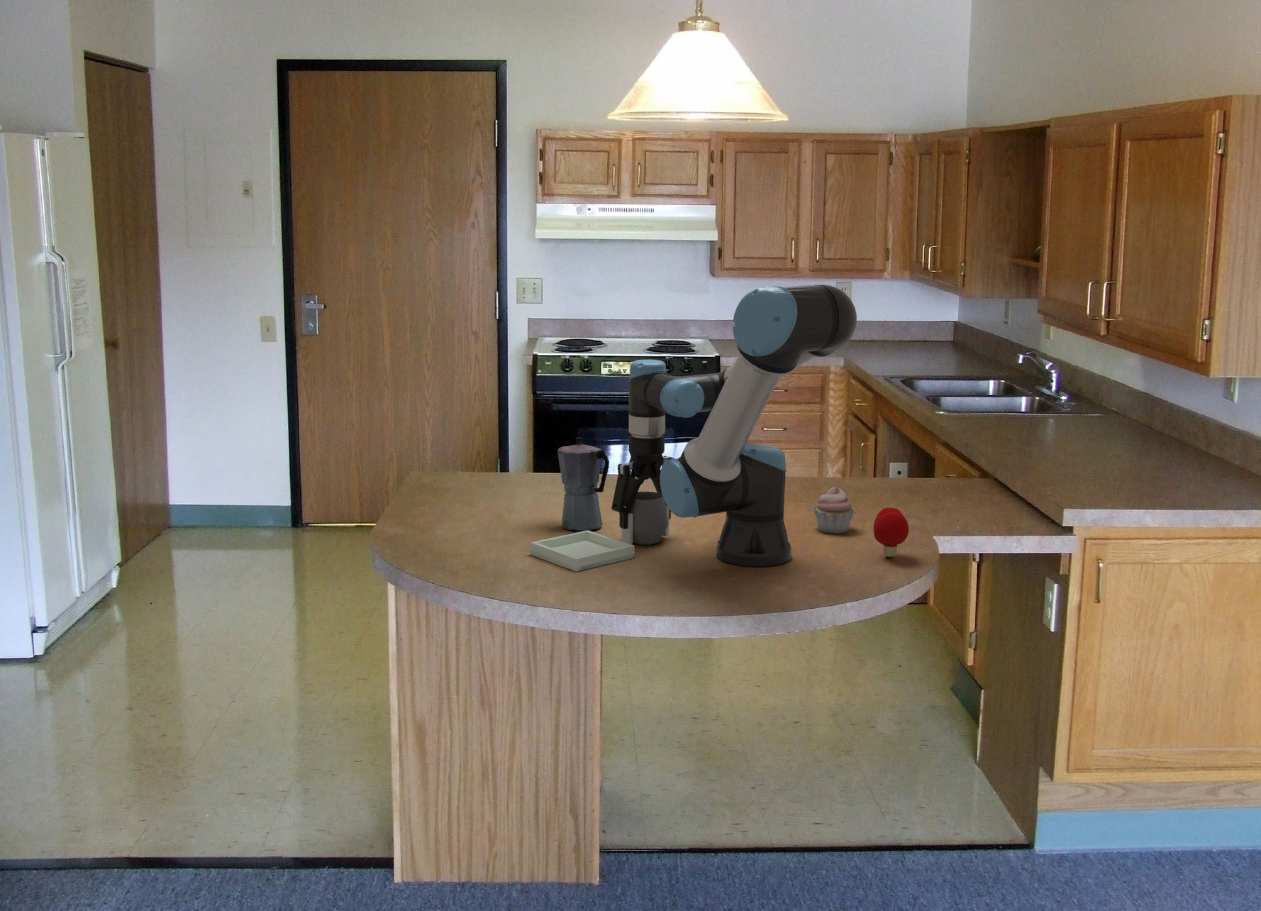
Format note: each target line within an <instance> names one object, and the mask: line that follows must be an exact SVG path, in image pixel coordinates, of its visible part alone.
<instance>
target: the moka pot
mask: <svg viewBox="0 0 1261 911" xmlns="http://www.w3.org/2000/svg"><path fill="white" fill-rule="evenodd" d="M575 440H576V441H575V442H576V444H573V445H566V446H565V445H564V446H561V447H559V448H558V449H557V456H558V457H557V458H558V462H559V463H558V464H559V470H560V476H561V483H562V484H563V486H564V487H563V488H564V492H565V493H564V498H563V508H562V517H561V527H562V528H563V529H564V530H568V531H576V532H582V531H587V530H589V531H591V530H598V529H600V528H602V526H603V519H602V514H601V506H600V502H599V501H600V500H599V494H598V493H603V492H604V490H605V485H606V481H607V475H608V474H609V473H608V472H609V468H610V460H609V458H608V455H606V454H605V451H604V449H601V448H598V447H597V446H592V445H587V444H583V441H584V440H583V437H581V436H578V437H575ZM602 460H603V461H604V465H603V468H602V469H603V471H602V474H601V479H600V472H601V461H602ZM599 482H600V483H599ZM598 483H599V486H598Z"/></svg>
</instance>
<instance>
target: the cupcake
mask: <svg viewBox="0 0 1261 911" xmlns="http://www.w3.org/2000/svg"><path fill="white" fill-rule="evenodd" d="M812 510H813V513H814V515H815V517H816V524H817V529H818V530H819V532H822V533H825V534H829V535H832V534H833V535H837V534H839V535H840V534H845V533H847V532H848V530H849V528H850V525H851V524H850V523H851V520H852V519H853V516H854V515H855V514H856V510H855V508H854V507H852V503H851V501H850V499H849V498H848V495H847V494H846V492H845V491H844V490H843V489H842V488H840V487H837V486H834V487H831V488H830V489H828V490H827V491H826V493H825V494H824V493H823V494H821V495H820V496H819V497H818V500H817V504H816V506H812Z"/></svg>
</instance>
